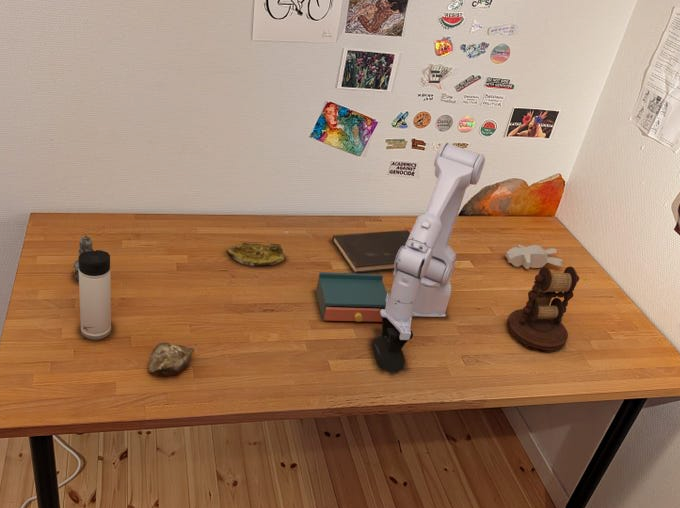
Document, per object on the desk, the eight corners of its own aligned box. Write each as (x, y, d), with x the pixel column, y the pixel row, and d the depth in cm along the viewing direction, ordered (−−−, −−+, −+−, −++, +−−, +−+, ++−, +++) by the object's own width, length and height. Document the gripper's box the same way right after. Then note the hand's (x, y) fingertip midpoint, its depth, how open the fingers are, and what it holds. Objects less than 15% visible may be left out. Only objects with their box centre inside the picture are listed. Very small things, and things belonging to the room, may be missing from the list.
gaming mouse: (390, 332, 177) (393, 318, 175) (407, 374, 165) (411, 361, 163) (364, 332, 175) (367, 318, 173) (380, 375, 164) (383, 361, 161)
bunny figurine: (504, 240, 213) (555, 240, 214) (501, 255, 216) (551, 255, 217) (513, 259, 205) (566, 258, 206) (510, 274, 208) (562, 273, 209)
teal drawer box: (377, 294, 189) (382, 274, 185) (387, 321, 180) (392, 301, 176) (315, 292, 185) (319, 271, 182) (322, 319, 176) (326, 299, 173)
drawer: (379, 295, 187) (381, 284, 185) (389, 325, 177) (392, 313, 176) (317, 293, 184) (319, 282, 182) (324, 323, 174) (327, 312, 172)
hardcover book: (430, 266, 203) (432, 259, 202) (354, 273, 195) (355, 266, 194) (405, 235, 215) (406, 228, 214) (331, 241, 207) (333, 233, 206)
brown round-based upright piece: (547, 316, 192) (573, 251, 181) (575, 354, 180) (605, 287, 169) (495, 317, 188) (519, 250, 177) (520, 355, 176) (547, 287, 165)
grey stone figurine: (68, 279, 175) (66, 236, 168) (84, 267, 180) (82, 225, 173) (89, 287, 174) (88, 244, 167) (104, 275, 178) (104, 233, 172)
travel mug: (85, 343, 157) (82, 265, 146) (77, 325, 162) (74, 248, 151) (114, 338, 160) (114, 261, 149) (106, 319, 165) (106, 244, 154)
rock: (160, 380, 148) (202, 370, 155) (156, 347, 148) (199, 338, 155) (141, 376, 154) (183, 366, 161) (138, 344, 153) (180, 336, 160)
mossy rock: (226, 267, 190) (284, 270, 193) (227, 253, 187) (286, 257, 190) (226, 244, 197) (282, 248, 200) (227, 230, 194) (284, 234, 197)
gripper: (378, 276, 167) (366, 325, 174) (393, 315, 155) (379, 365, 162) (408, 278, 168) (395, 326, 175) (425, 317, 156) (410, 366, 163)
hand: (389, 345), depth 169 cm, fingers closed on gaming mouse, 6 cm apart
